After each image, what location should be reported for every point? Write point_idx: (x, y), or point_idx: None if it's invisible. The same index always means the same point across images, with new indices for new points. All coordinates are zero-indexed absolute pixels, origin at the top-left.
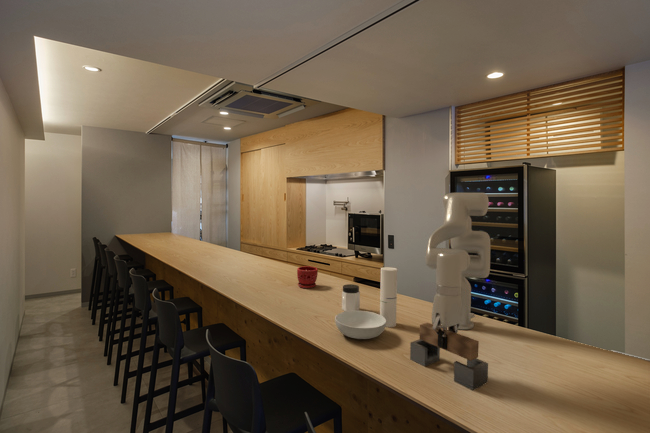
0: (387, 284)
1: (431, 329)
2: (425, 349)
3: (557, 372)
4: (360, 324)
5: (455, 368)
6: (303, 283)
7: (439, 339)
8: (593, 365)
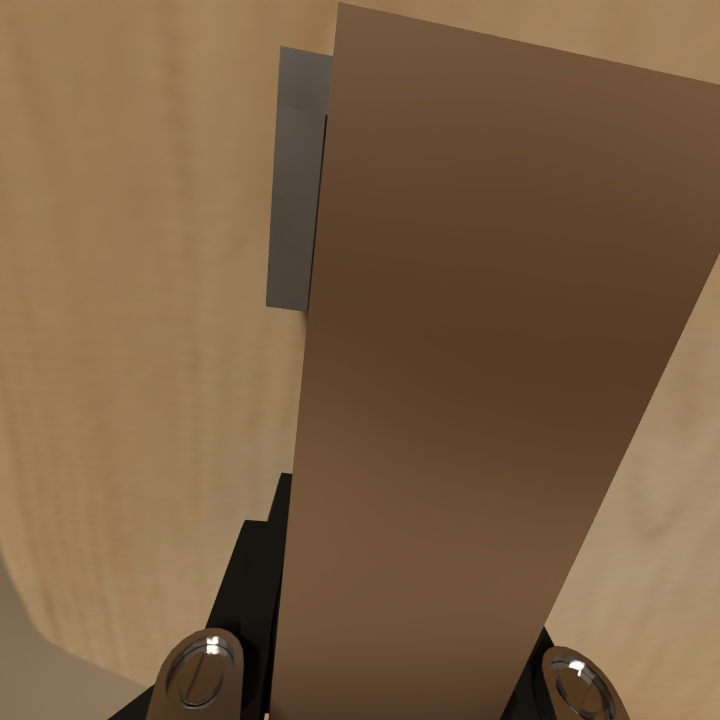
0: None
1: (292, 491)
2: (273, 306)
3: (681, 679)
4: None
5: None
6: None
7: (223, 592)
8: None
